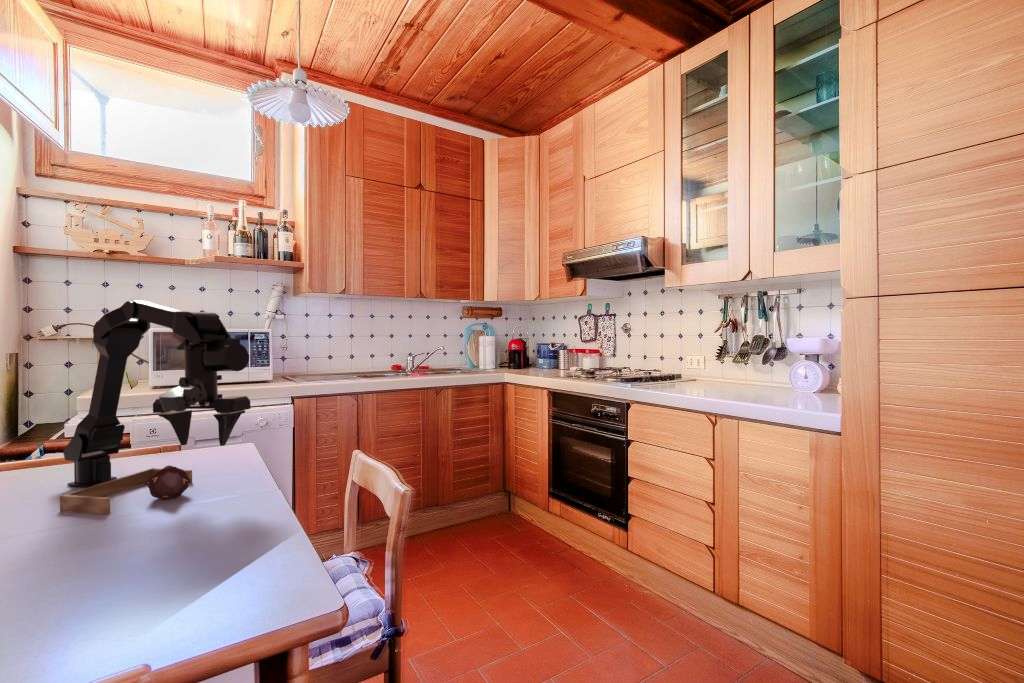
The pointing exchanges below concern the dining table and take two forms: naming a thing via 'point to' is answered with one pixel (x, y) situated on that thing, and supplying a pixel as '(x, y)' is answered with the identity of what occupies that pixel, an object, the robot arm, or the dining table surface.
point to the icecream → (168, 483)
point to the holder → (105, 492)
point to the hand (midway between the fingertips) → (203, 445)
